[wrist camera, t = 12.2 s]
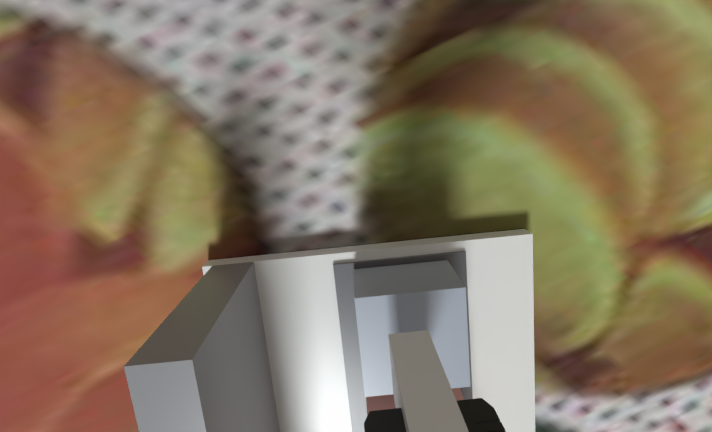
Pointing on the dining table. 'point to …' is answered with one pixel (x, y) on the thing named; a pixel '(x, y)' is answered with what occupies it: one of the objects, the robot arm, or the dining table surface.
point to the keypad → (324, 338)
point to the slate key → (410, 318)
